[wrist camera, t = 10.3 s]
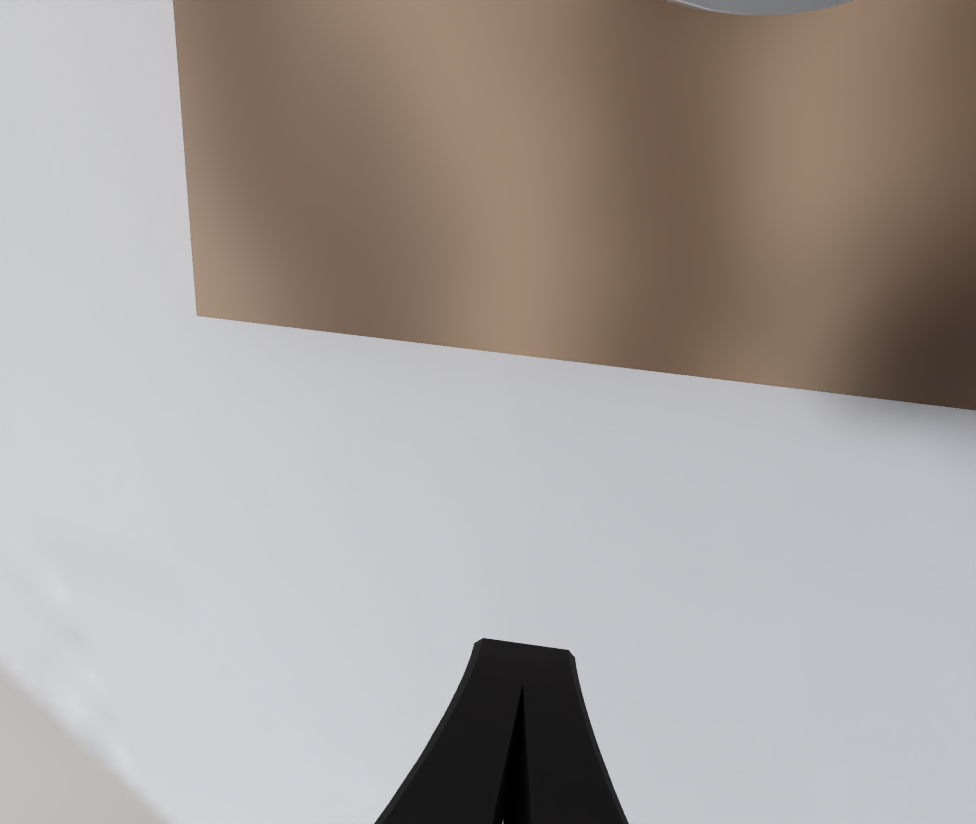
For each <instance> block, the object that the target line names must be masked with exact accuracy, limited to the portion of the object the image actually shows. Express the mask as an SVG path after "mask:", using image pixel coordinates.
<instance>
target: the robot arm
mask: <svg viewBox="0 0 976 824" xmlns="http://www.w3.org/2000/svg"><path fill="white" fill-rule="evenodd" d="M502 823H503V824H629V823H628V821H627V819H626V816H625V814H624V812H623V809H622V807H621V805H620V802H619V800H618V797H617V795H616V792H615V790H614V787H613V785H612V782H611V779H610V777H609V774H608V771H607V769H606V766H605V763H604V761H603V758H602V755H601V753H600V750H599V747H598V744H597V741H596V738H595V736H594V733H593V729H592V726H591V723H590V720H589V716H588V713H587V710H586V707H585V703H584V699H583V695H582V692H581V688H580V683H579V679H578V674H577V669H576V663H575V657H574V656H573V655H572V654H571V653H570V651H569V650H564V649H557V648H550V647H543V646H536V645H529V644H521V643H514V642H507V641H500V640H493V639H486V638H483V639H481V640H479V641H477V642H476V643H474V647H473V650H472V654H471V657H470V660H469V663H468V665H467V668H466V670H465V673H464V675H463V677H462V680H461V682H460V684H459V686H458V688H457V690H456V692H455V694H454V696H453V698H452V700H451V702H450V704H449V706H448V708H447V710H446V712H445V714H444V716H443V717H442V719H441V721H440V723H439V724H438V726H437V728H436V730H435V731H434V733H433V735H432V737H431V739H430V740H429V742H428V744H427V746H426V747H425V749H424V751H423V752H422V754H421V756H420V757H419V759H418V760H417V762H416V763H415V765H414V766H413V768H412V769H411V771H410V772H409V774H408V775H407V777H406V778H405V780H404V781H403V783H402V784H401V786H400V787H399V789H398V791H397V792H396V794H395V795H394V797H393V798H392V800H391V801H390V803H389V804H388V805H387V807H386V808H385V810H384V811H383V812H382V814H381V815H380V816H379V818H378V819H377V821H376V822H375V823H374V824H502Z"/></svg>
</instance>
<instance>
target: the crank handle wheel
mask: <svg viewBox="0 0 976 824" xmlns="http://www.w3.org/2000/svg"><path fill="white" fill-rule="evenodd" d="M660 1H662V2H665V3H668V4H672V5H675V6H679V7H682V8H686V9H689V10H694V11H702V12H709V13H716V14H734V15H787V14H794V13H801V12H808V11H814V10H821V9H826V8H829V7H833V6H836V5H840V4H843V3H847V2H850V1H854V0H660Z"/></svg>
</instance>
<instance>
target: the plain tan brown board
mask: <svg viewBox="0 0 976 824" xmlns="http://www.w3.org/2000/svg"><path fill="white" fill-rule="evenodd" d="M173 6H174V20H175V33H176V46H177V59H178V73H179V86H180V99H181V113H182V126H183V139H184V152H185V166H186V179H187V192H188V205H189V219H190V232H191V245H192V258H193V272H194V285H195V298H196V311H197V316H203V317H211V318H219V319H227V320H236V321H244V322H252V323H260V324H269V325H277V326H285V327H293V328H302V329H310V330H318V331H326V332H335V333H343V334H351V335H359V336H368V337H376V338H384V339H392V340H400V341H409V342H417V343H425V344H433V345H442V346H450V347H458V348H466V349H475V350H483V351H491V352H499V353H508V354H516V355H524V356H532V357H541V358H549V359H557V360H565V361H574V362H582V363H590V364H598V365H607V366H615V367H623V368H631V369H640V370H648V371H656V372H664V373H673V374H681V375H689V376H697V377H706V378H714V379H722V380H730V381H739V382H747V383H755V384H763V385H772V386H780V387H788V388H796V389H805V390H813V391H821V392H829V393H838V394H846V395H854V396H862V397H871V398H879V399H887V400H895V401H904V402H912V403H920V404H928V405H937V406H945V407H953V408H961V409H970V410H976V0H854V1H850V2H847V3H843V4H840V5H836V6H833V7H829V8H826V9H821V10H814V11H808V12H801V13H794V14H787V15H734V14H716V13H709V12H702V11H694V10H689V9H686V8H682V7H679V6H675V5H672V4H668V3H665V2H662V1H660V0H173Z"/></svg>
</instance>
